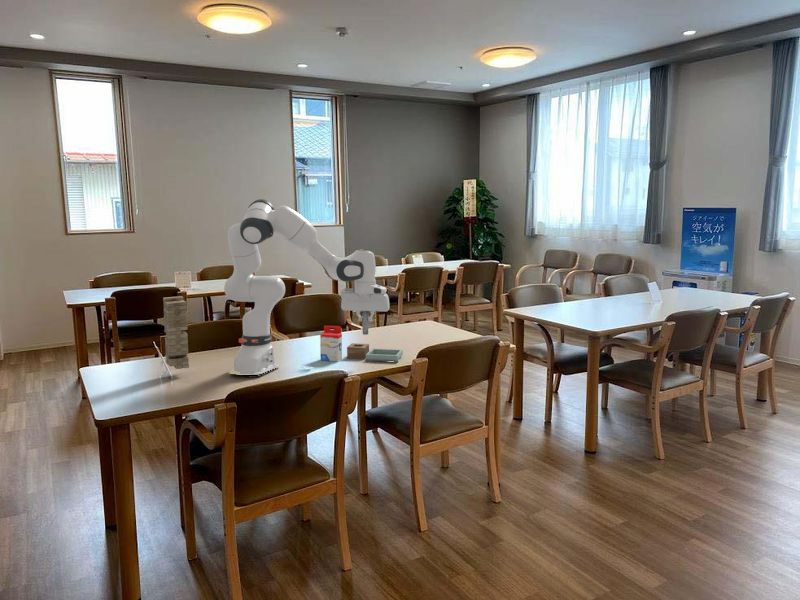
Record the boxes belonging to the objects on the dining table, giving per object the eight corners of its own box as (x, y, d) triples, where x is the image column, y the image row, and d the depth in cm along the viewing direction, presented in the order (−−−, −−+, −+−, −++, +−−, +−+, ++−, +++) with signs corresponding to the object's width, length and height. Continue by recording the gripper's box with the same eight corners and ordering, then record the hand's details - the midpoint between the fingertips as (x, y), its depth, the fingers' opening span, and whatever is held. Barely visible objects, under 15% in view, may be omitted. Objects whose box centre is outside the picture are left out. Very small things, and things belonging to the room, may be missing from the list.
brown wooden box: (364, 359, 265) (364, 347, 264) (347, 358, 267) (347, 347, 266) (369, 354, 273) (369, 344, 272) (352, 354, 274) (351, 343, 274)
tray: (397, 362, 258) (397, 355, 258) (365, 361, 261) (365, 354, 260) (402, 356, 270) (402, 349, 269) (372, 355, 272) (372, 348, 272)
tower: (170, 370, 246) (166, 299, 242) (165, 366, 253) (161, 297, 249) (190, 368, 250) (186, 298, 246) (185, 363, 257) (181, 295, 253)
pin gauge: (367, 334, 252) (367, 311, 251) (362, 334, 253) (361, 310, 251) (368, 333, 255) (368, 310, 253) (363, 333, 255) (363, 310, 254)
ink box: (320, 360, 262) (319, 327, 260) (324, 358, 267) (323, 325, 265) (338, 361, 260) (338, 328, 258) (342, 359, 265) (341, 326, 263)
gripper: (338, 288, 250) (339, 321, 252) (387, 290, 246) (387, 323, 248) (342, 287, 256) (343, 319, 258) (390, 288, 253) (390, 320, 254)
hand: (365, 321), depth 253 cm, fingers closed on pin gauge, 2 cm apart
